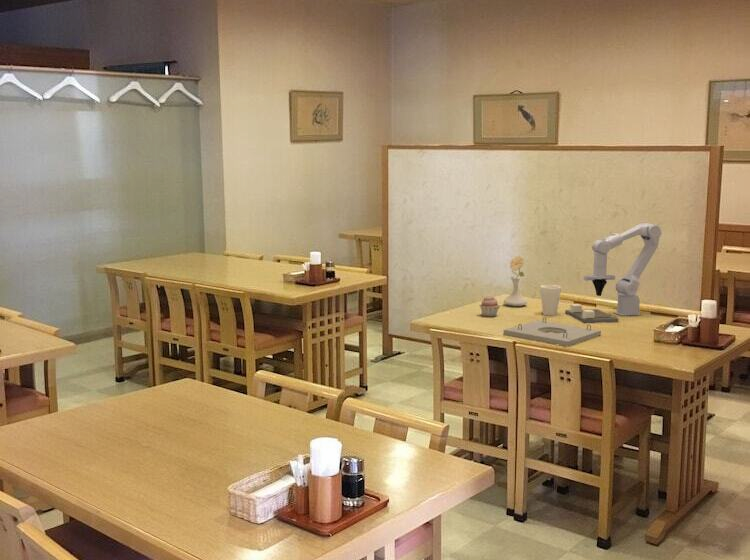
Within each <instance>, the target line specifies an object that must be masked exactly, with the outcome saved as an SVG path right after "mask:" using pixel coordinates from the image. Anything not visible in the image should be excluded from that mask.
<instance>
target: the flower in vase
mask: <svg viewBox="0 0 750 560" xmlns="http://www.w3.org/2000/svg"><path fill="white" fill-rule="evenodd" d="M524 265H525V259H524V257H522V256H521V255H518V256H515V257H513V259H511V261H510V263H509V266H510V267H509V268H510V270H511V272H512V273H513V274H514V275H516V276H512V277H510V279H511V280H512V293H510V294H509V295H508V296H506V298H504V299H503V303H504V304H505V305H506V306H510V307H521V306H525V305H526V304H527V303H528V301H527V300H526V299H525V297H523V296H522V295H521V294H520V293H519V289H518V288H519V283H520V280H521V279H522V278H521V277H525V273H524V271H521V268H523V266H524ZM515 271H516V272H517V271H518V273H516V272H515Z"/></svg>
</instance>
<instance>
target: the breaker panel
mask: <svg viewBox="0 0 750 560" xmlns="http://www.w3.org/2000/svg"><path fill="white" fill-rule="evenodd" d="M583 310H584V309H582V311H583ZM586 310H592V311H595V315H594V318H584V317H582V312H572V311H570V309H566V310H564V311H565V314H566V315H568V316H570V317H571V316H572V318H574V319H575V320H577V321H579V322H581V323H583V322H584V323H583V324H597V323H596V322H606V323H619V318H618V317H616V316H613V315H611V314H608V313H607V312H605V311H603V310H600V309H598V308H597V309H595V308H593V309H592V308H591V309H590V308H589V309H587V308H586Z"/></svg>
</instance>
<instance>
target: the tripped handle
mask: <svg viewBox="0 0 750 560" xmlns="http://www.w3.org/2000/svg"><path fill="white" fill-rule="evenodd" d="M582 310H583V311H582V317H584V318H594V315H595V311H592V310H587V309H582Z"/></svg>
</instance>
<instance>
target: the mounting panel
mask: <svg viewBox="0 0 750 560" xmlns="http://www.w3.org/2000/svg"><path fill="white" fill-rule="evenodd" d="M544 319H545V320H544ZM591 327H592V326H591V324H590V323H587V325H586V327H581V326H576V325H572V324H571V325H570V324H566V323H565V324H564V323H558V322H552V321H548V320H547V317H545V316H544V317H542V320H541V319H537V320H533V321H530V322H527V323H522V324H521V323H519V324H518V325H516V326H512V327H508V328H505V329H503V334H502V335H504V336H507V337H513V338H518V339H525V340H530V341H534V340H536V341H535V342H539V341H543V342H542V343H544V342H549V343H548V344H550V343H554V344H553V345H555V344H559V345H558V346H560V345H564V346H563V347H566V346H569V347H571V346H570V345H572V346H574V345H573V344H575V345H577V344H576V343H578V344H580V343H579V342H581V343H583V342H582V341H584V342H586V341H589V340H591V338H592V339H595V338H598V337H600V336H599V335H601V336H602V330H600V329H595V328H594V329H593V328H591ZM549 332H553V333H549ZM597 336H598V337H597ZM594 337H595V338H594ZM588 339H589V340H588ZM585 340H586V341H585Z"/></svg>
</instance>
